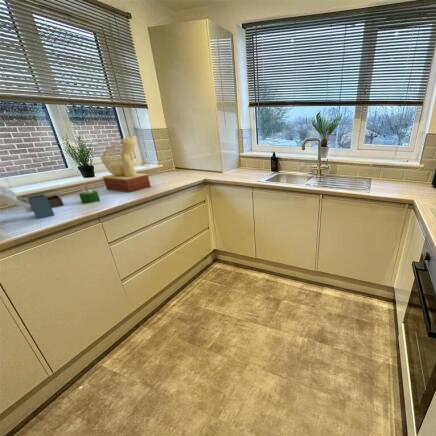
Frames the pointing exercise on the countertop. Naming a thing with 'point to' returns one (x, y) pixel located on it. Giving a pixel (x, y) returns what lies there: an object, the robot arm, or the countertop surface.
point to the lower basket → (54, 201)
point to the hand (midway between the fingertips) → (26, 203)
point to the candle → (89, 196)
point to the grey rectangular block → (40, 206)
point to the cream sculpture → (123, 169)
